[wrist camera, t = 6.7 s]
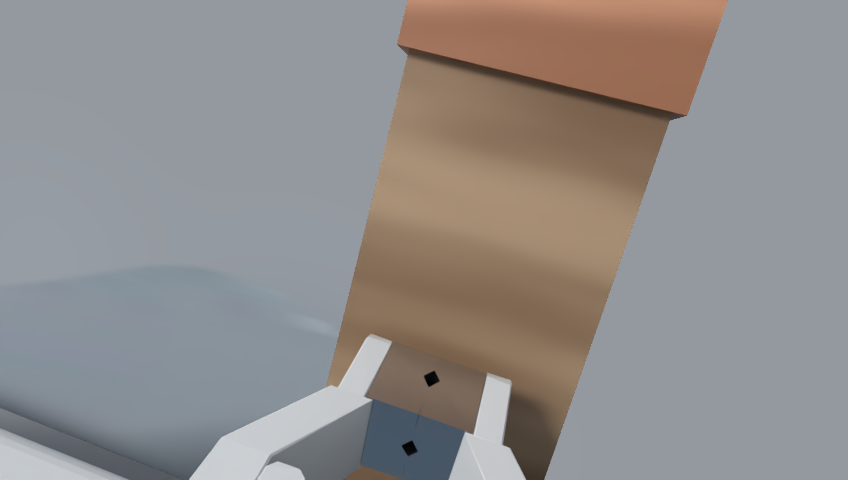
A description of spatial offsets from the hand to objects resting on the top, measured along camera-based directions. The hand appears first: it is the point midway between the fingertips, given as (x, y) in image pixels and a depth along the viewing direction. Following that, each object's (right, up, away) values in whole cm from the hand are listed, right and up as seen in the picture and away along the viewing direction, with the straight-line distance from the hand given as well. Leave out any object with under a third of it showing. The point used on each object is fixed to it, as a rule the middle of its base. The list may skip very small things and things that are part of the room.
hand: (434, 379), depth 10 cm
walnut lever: (-2, -10, +3) cm, 11 cm away
